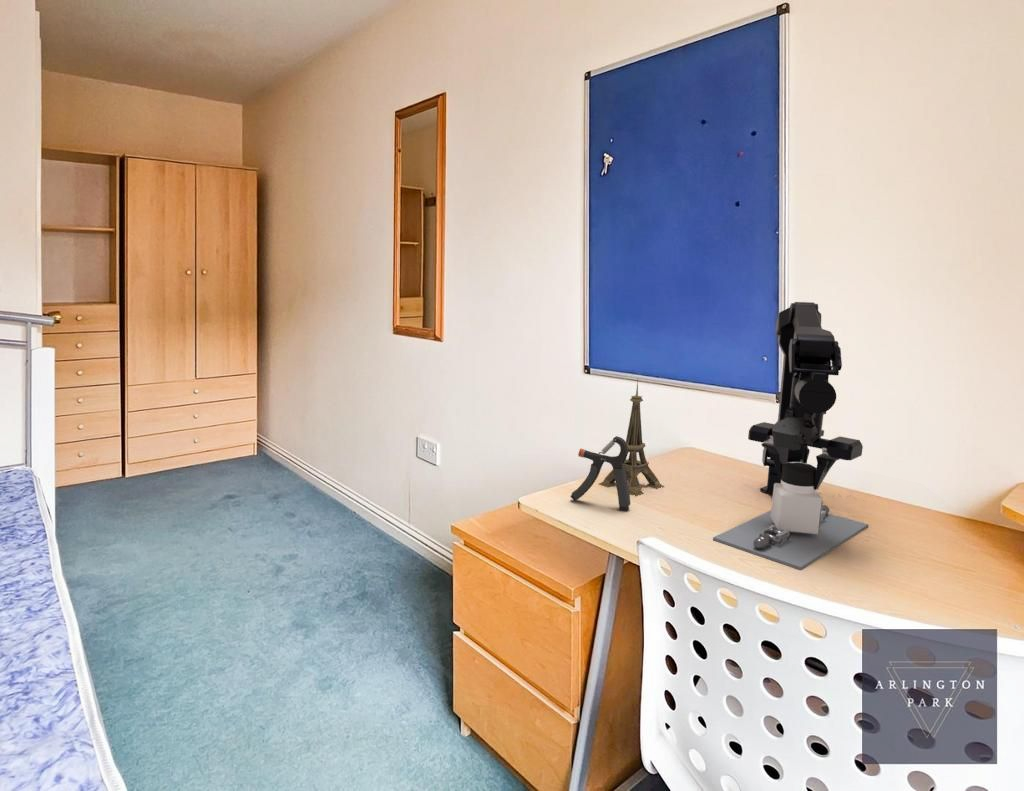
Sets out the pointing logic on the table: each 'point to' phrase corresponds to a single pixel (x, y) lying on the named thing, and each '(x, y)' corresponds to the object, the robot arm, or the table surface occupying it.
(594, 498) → the table surface
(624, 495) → the hand grip strengthener
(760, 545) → the chain ends
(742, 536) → the rubber mat
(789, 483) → the medicine bottle
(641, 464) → the eiffel tower
